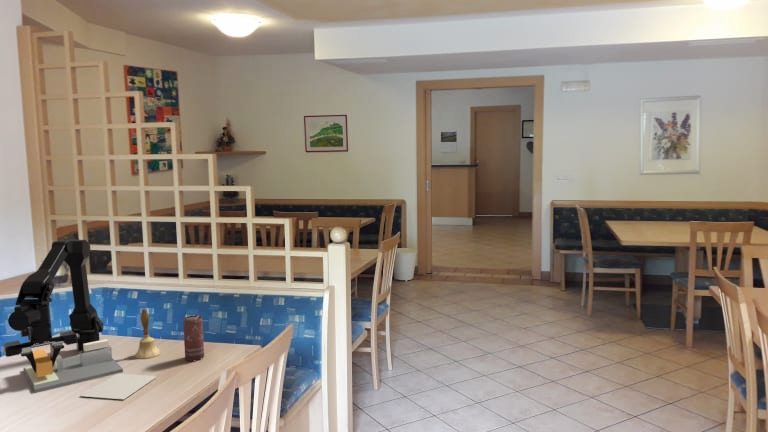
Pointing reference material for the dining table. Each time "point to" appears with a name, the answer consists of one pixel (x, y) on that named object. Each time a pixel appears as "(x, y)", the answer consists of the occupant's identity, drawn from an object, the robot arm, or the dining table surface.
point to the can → (193, 337)
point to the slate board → (77, 373)
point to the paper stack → (119, 386)
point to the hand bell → (146, 340)
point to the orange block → (42, 363)
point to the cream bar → (95, 345)
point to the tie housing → (88, 357)
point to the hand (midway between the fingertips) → (43, 370)
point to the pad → (42, 379)
